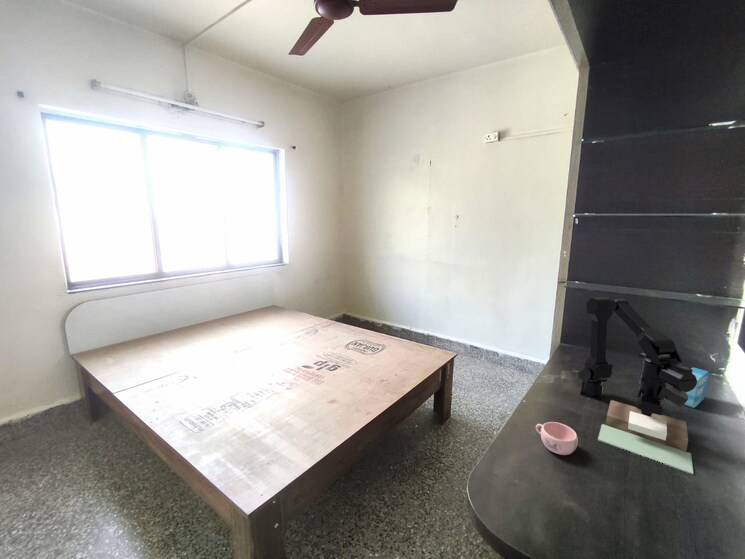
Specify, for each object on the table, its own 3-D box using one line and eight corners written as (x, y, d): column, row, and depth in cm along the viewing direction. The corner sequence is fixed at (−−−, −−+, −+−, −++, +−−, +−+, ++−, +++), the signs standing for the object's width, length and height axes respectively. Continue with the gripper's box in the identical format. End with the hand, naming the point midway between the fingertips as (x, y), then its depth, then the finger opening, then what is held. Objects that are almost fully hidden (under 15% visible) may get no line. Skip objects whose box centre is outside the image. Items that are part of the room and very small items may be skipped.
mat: (597, 440, 104) (597, 439, 104) (601, 424, 112) (602, 423, 112) (693, 474, 90) (693, 473, 90) (690, 454, 98) (690, 453, 97)
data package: (693, 409, 120) (699, 379, 117) (677, 403, 123) (682, 374, 121) (704, 399, 126) (709, 370, 123) (688, 394, 130) (693, 366, 127)
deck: (605, 425, 111) (606, 415, 110) (609, 409, 120) (610, 399, 119) (685, 452, 98) (688, 440, 98) (683, 432, 107) (685, 421, 106)
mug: (581, 449, 100) (584, 432, 99) (568, 464, 94) (570, 446, 93) (542, 429, 110) (543, 414, 109) (527, 442, 104) (528, 426, 103)
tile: (628, 428, 104) (629, 422, 103) (629, 416, 109) (630, 410, 108) (665, 440, 99) (666, 434, 98) (665, 427, 103) (666, 421, 102)
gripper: (690, 396, 91) (681, 445, 94) (686, 371, 105) (678, 415, 108) (639, 383, 99) (632, 429, 102) (641, 362, 112) (635, 403, 115)
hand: (646, 419), depth 106 cm, fingers closed
